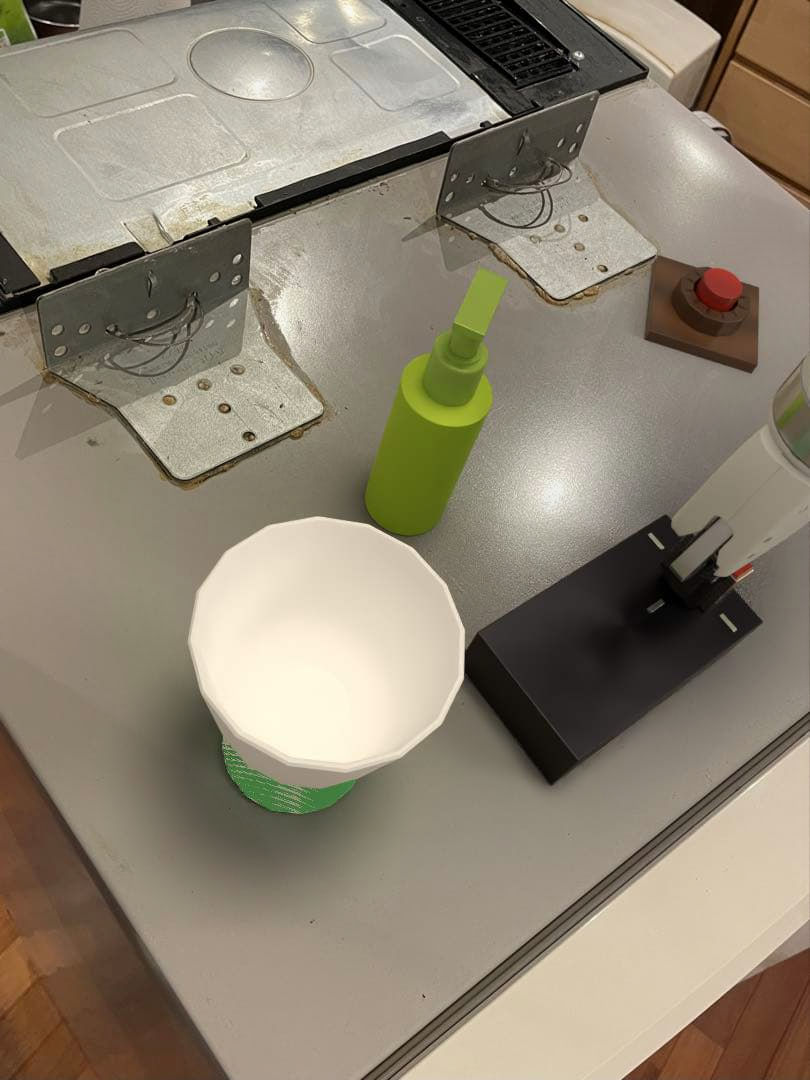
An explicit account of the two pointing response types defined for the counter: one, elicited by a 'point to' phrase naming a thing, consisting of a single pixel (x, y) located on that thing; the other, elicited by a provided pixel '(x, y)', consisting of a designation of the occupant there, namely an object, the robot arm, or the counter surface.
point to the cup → (323, 656)
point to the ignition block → (701, 317)
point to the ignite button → (718, 289)
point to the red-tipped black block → (724, 586)
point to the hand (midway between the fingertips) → (691, 581)
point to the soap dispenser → (435, 418)
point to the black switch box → (599, 651)
